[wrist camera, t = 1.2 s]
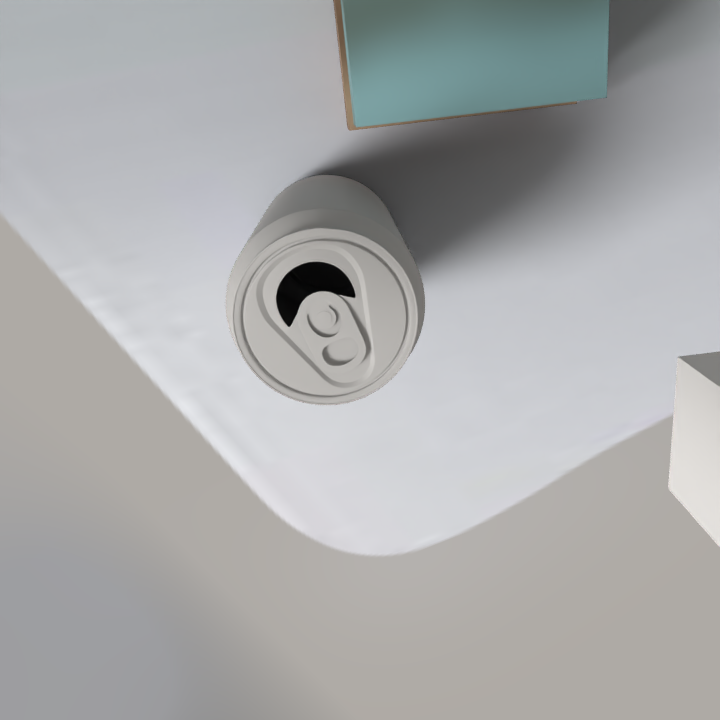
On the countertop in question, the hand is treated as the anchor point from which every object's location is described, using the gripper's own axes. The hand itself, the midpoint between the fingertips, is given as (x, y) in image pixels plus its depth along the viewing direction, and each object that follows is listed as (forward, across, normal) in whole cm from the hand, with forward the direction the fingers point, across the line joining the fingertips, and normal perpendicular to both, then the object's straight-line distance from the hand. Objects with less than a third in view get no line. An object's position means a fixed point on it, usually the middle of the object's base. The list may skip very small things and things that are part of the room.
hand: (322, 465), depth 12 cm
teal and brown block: (+20, +6, +10) cm, 23 cm away
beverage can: (+20, 0, 0) cm, 20 cm away
